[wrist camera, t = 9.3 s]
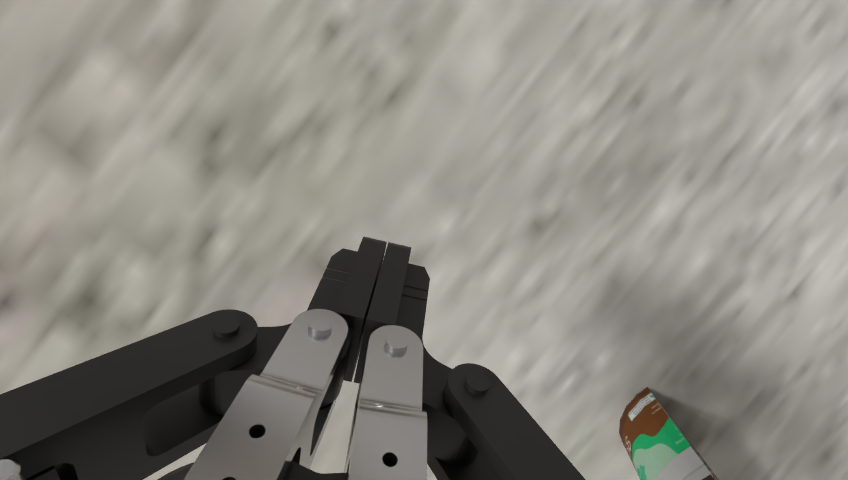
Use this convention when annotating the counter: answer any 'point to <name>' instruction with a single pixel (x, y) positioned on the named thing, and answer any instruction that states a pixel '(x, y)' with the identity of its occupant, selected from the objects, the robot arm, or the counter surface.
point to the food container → (659, 443)
